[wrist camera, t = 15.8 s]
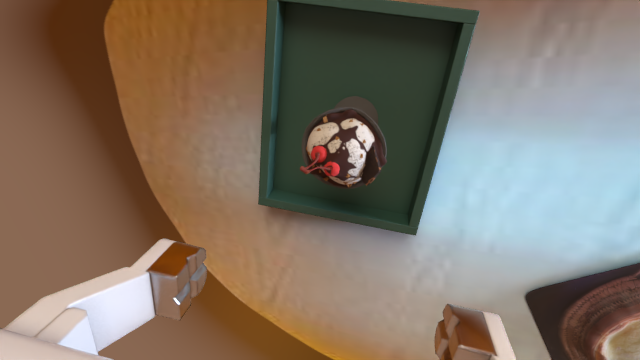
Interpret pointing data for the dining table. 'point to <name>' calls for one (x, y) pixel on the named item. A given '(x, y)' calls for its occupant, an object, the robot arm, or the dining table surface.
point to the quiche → (591, 316)
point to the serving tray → (367, 82)
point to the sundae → (345, 145)
